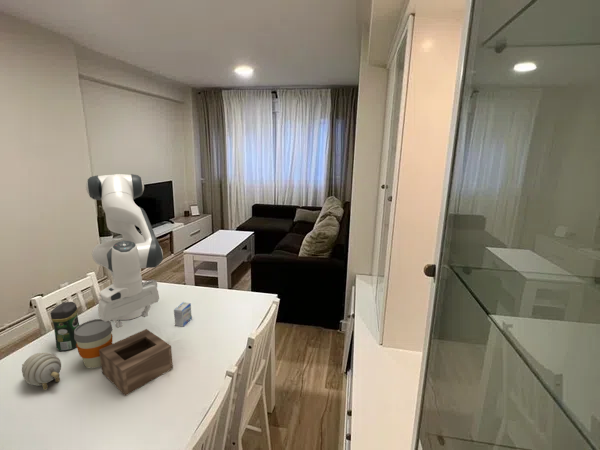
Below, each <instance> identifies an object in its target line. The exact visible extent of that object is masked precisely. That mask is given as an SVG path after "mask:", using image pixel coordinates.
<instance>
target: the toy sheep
mask: <svg viewBox="0 0 600 450" xmlns="http://www.w3.org/2000/svg"><path fill="white" fill-rule="evenodd" d="M61 370H62V362H61V360H60V358H59V357H58V356H57V355H56V354H54V353H51V352H37V353H34V354H31V355H30V356H29V357H28V358H27V359H26V360H25V361H24V362H23V364H21V373H22V377H23V379H24V380H25V381H26V383H27V384H29V385H32V386H37V387H38V386H39V387H40V386H42V389H43V390H44V391H46V390H48V388H49V387H48V383H50V382H51V381H53V380H54V381H55V383H59V382H60V381H61V380H60V372H61Z"/></svg>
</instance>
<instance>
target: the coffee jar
mask: <svg viewBox="0 0 600 450" xmlns="http://www.w3.org/2000/svg"><path fill="white" fill-rule="evenodd" d="M78 315H79V314H78V308H77V304H76V302H74V301H63V302H62V303H60V304H58V305H57V306H55V308H53V309H52V310H51V311H50V319H51V321H52V325H53V329H54V335H55V336H54V337H55V345H56V350H57V351H60V352H61V351H62V352H63V351H64V352H65V351H70V350H73V349H75V348H77V346H76V344H77V342H76V341H75V339H74V330H75V329H76V327H78V326H79V325H80V321H79V316H78Z"/></svg>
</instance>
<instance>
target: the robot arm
mask: <svg viewBox="0 0 600 450" xmlns="http://www.w3.org/2000/svg"><path fill="white" fill-rule="evenodd" d="M85 190H86V193H87V195H88V196H89V198H90V199H92V200H94V201H101V202H102V208H103V211H104V213H105V221H106V227H107V229H108V231H110V232H112V233H115V234H118V235H119V234H120V235H121V236H122V238H121V239H117V240H108V241H105V242H101V243H98V244H96V245H94V247H93V249H92V252H91V257H92V259H93V261H94V262H95V263H96V264H97V265H99V266H102V267H104V268H105V269H106V270H108V271H109V273H110V275H111V276H112V279H113V283H111V284H110V285H108V286H107V287H105V288H103V289H102V290H100V291H99V296H100V300H99V301H98V307H97V308H98V317H99V319H101V320H103V321H105V322H107V321H110V322H111V321H113V322H114V323H115V327H116V328H117V329H119V328H122V327H123V322H122V321H127V320H133V319H136V318H139V317H141V316H142V317H143V318H146V317H148V316H149V313H148V312H149V310H150V308H151V305H153V304H156V303H158V302H159V300H160V295H159V290H158V282H157V280H156V279H149V280H146V281H143V278H142V277H143V276H142V274H141V269H153V268H157V267H158V266H159V265H161V263H162V262H163V261H164V260H163V259H164V254H163V253H164V252H163V249H162V247H161V245H160V243H159V241H158V239H157V237H156V234H155V231H154V229H153V227H152V224H151V222H150V219H149V217H148V215H147V213H146V211H145V210H144V208H142V207H141V206H138V205H137V204H136V203H135V201H134V200H136V199H137V198H139V197H142V195H143V193H144V190H145V184H144V181H143V179H142V177H141V176H140V175H139V174H133V173H131V174H126V173H125V174H124V173H123V174H122V173H115V174H105V175H92V176H90V177H89V178H88V179H87V181H86V185H85ZM136 227H137V228H139V230H138V229H137V228H136ZM139 231H140V232H139Z"/></svg>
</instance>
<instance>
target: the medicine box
mask: <svg viewBox="0 0 600 450" xmlns="http://www.w3.org/2000/svg"><path fill="white" fill-rule="evenodd" d="M173 314H174V326H176V327H185V326H186V325H187V324H188V322H190V321H191V320H192V318H193V316H192V303H190V302H185V301H183V302H181V303H180V304H179V305H178V306H176V308H174V309H173Z"/></svg>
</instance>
